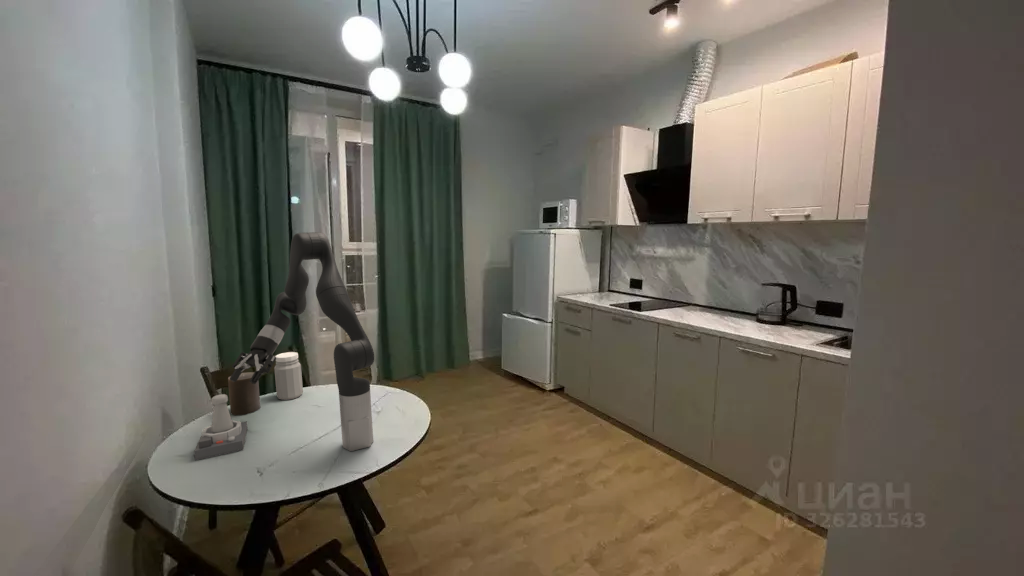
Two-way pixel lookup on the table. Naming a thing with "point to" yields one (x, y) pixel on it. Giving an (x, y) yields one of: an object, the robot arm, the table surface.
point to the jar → (288, 376)
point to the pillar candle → (243, 395)
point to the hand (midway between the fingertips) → (242, 381)
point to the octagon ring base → (221, 441)
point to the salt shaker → (221, 414)
